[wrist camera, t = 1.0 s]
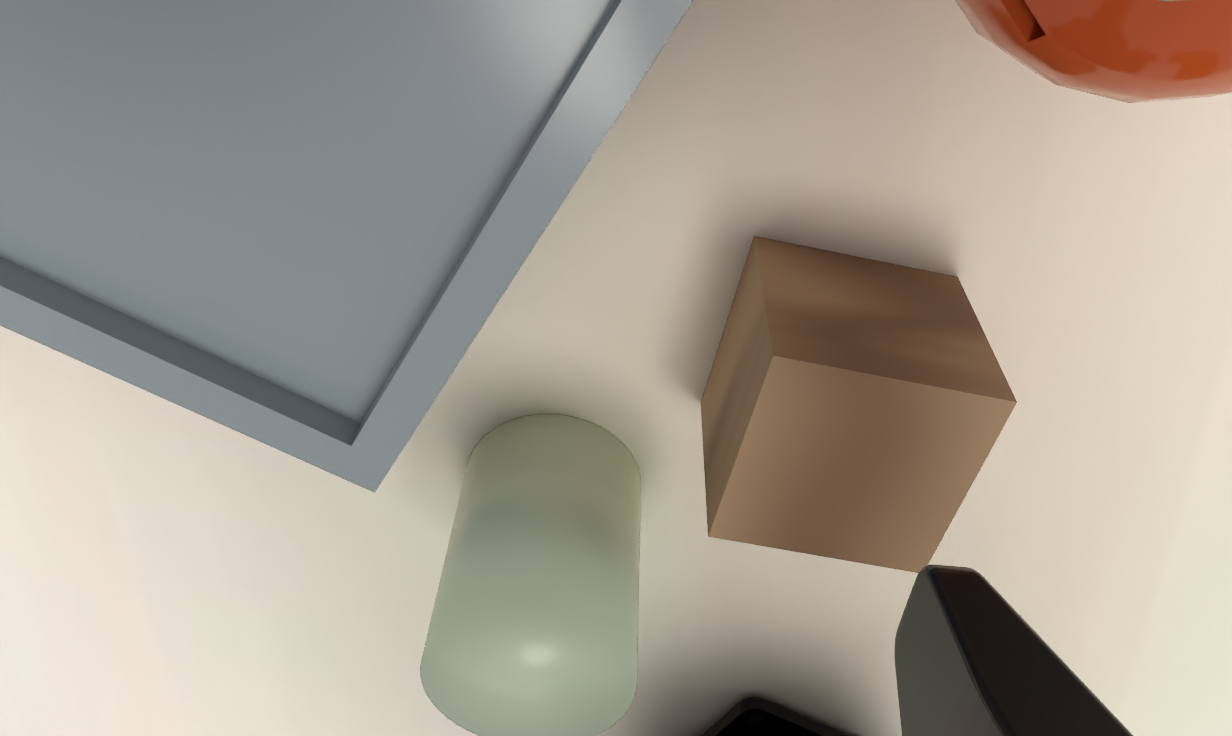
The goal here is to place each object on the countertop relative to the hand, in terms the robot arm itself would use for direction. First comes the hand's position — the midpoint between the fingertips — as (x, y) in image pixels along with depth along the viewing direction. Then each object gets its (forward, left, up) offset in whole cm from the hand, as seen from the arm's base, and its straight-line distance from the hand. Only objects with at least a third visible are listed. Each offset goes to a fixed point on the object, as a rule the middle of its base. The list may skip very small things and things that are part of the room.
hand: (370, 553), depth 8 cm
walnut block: (-9, +3, -13) cm, 16 cm away
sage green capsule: (-6, +10, -13) cm, 17 cm away
